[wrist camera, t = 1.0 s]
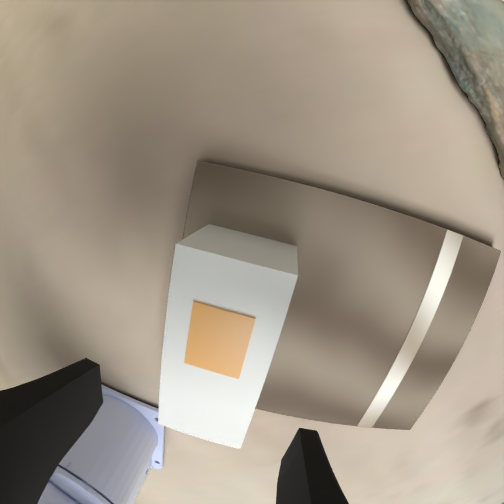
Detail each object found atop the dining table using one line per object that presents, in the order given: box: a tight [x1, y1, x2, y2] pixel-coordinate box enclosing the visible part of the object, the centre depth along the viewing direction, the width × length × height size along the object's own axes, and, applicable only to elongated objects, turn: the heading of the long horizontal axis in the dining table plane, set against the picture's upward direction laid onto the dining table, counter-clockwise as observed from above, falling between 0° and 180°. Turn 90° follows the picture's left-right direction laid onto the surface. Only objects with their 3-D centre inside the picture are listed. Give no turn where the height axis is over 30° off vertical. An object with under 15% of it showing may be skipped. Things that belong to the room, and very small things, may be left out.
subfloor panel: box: [183, 161, 501, 430], centre depth 16 cm, size 14×18×1 cm
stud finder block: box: [158, 224, 298, 449], centre depth 14 cm, size 10×4×5 cm, turn 167°
